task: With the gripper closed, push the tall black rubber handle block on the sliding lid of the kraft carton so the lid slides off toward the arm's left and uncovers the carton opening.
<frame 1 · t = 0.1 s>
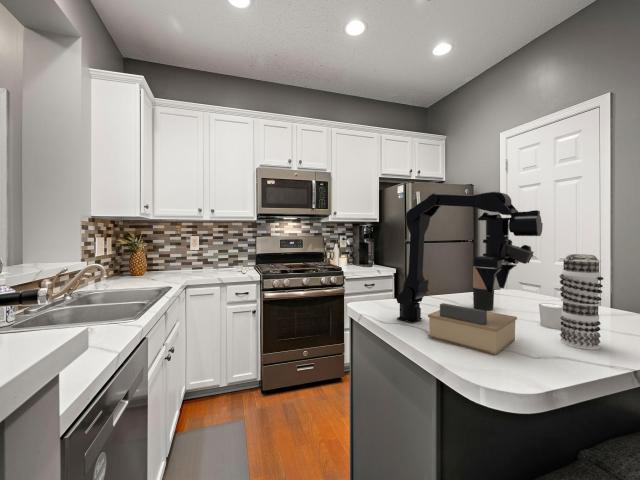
hand: (496, 290, 87), 15 cm above the countertop, fingers open, 9 cm apart
decorative candle: (579, 344, 84), on the countertop
travel mug: (483, 309, 124), on the countertop
carton: (471, 338, 89), on the countertop
shot glass: (551, 326, 100), on the countertop
carton lid: (471, 310, 89), point 8 cm above the countertop, slide at 0.0 cm
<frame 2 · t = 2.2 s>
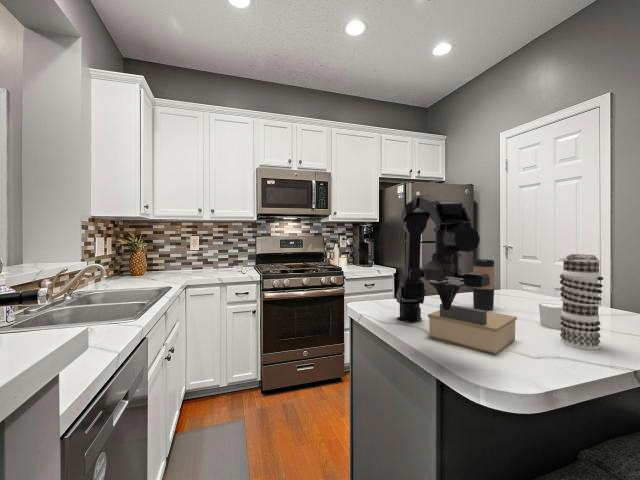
hand: (446, 309, 78), 11 cm above the countertop, fingers closed
nothing on the countertop moved.
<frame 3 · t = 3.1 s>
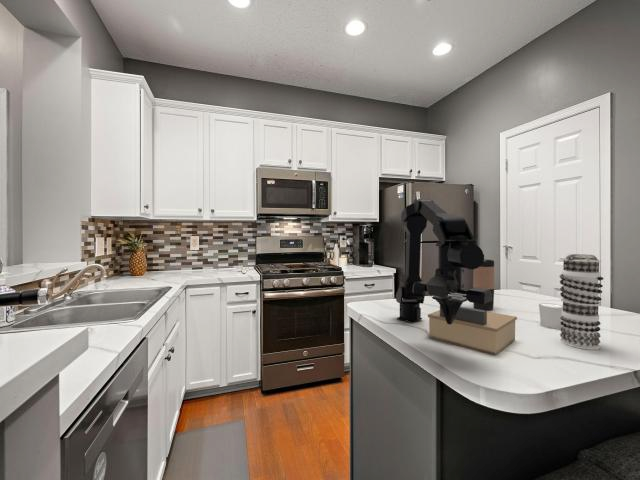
hand: (449, 323, 79), 7 cm above the countertop, fingers closed
nothing on the countertop moved.
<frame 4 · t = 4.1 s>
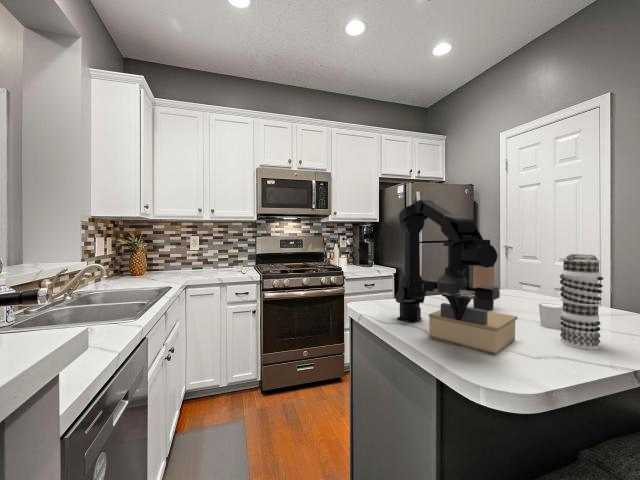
hand: (458, 320, 83), 7 cm above the countertop, fingers closed
carton lid: (472, 310, 89), point 8 cm above the countertop, slide at 0.5 cm, touching gripper
everything else where it was.
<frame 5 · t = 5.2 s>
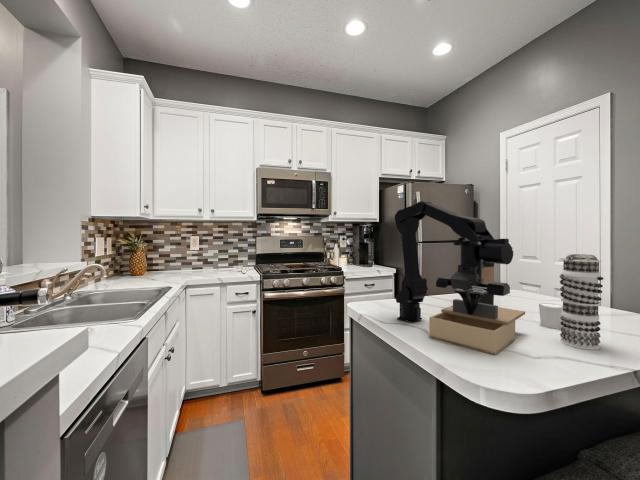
hand: (470, 314, 88), 7 cm above the countertop, fingers closed
carton lid: (482, 306, 94), point 8 cm above the countertop, slide at 8.4 cm, touching gripper
everything else where it was.
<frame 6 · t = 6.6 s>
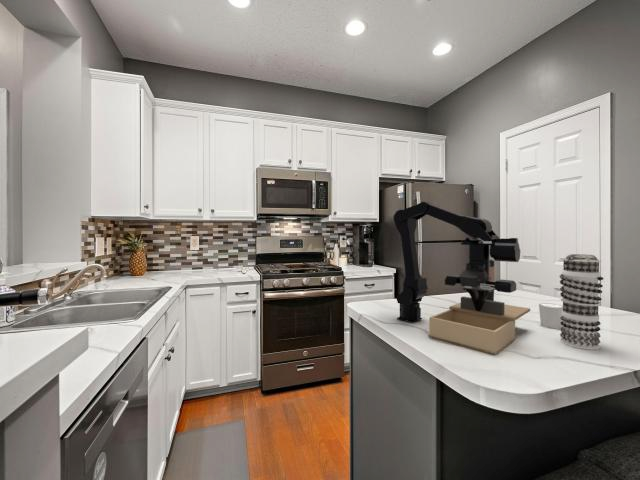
hand: (478, 311, 92), 7 cm above the countertop, fingers closed, pressing on carton lid
carton lid: (489, 303, 98), point 8 cm above the countertop, slide at 14.1 cm, touching gripper
everything else where it was.
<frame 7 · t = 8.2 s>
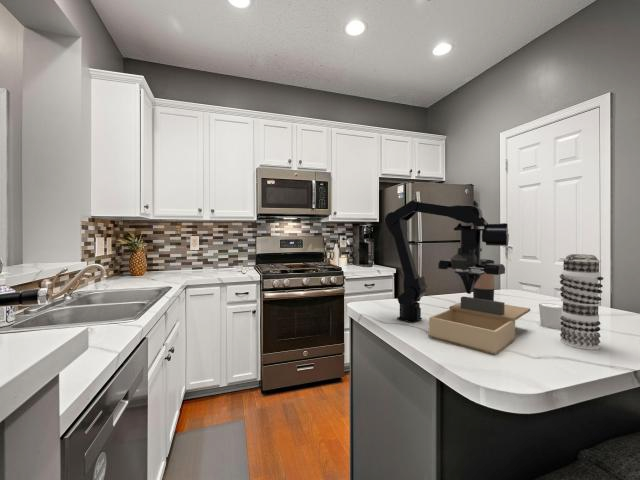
hand: (469, 293, 96), 12 cm above the countertop, fingers closed
carton lid: (489, 303, 98), point 8 cm above the countertop, slide at 14.1 cm
everything else where it was.
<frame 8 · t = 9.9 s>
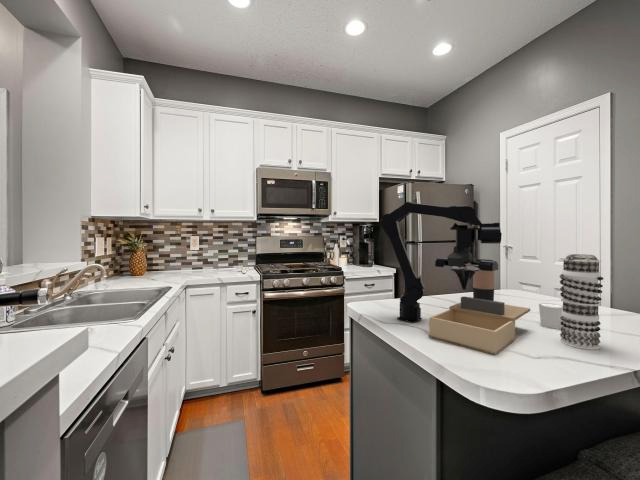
hand: (464, 289, 102), 12 cm above the countertop, fingers closed
nothing on the countertop moved.
at the end: carton lid slide at 14.1 cm; decorative candle moved 0.2 cm from its start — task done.
